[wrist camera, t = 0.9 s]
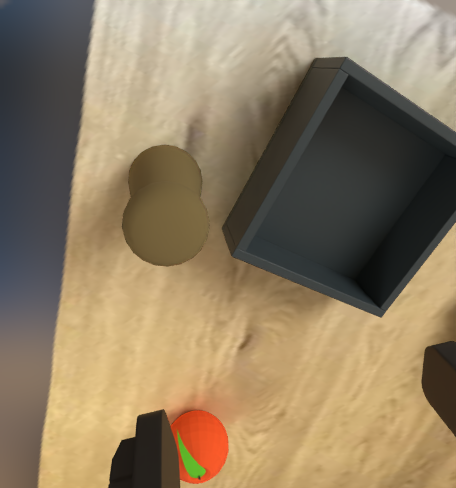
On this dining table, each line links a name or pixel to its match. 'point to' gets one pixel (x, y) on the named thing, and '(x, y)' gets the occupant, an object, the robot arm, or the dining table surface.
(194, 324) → the dining table surface
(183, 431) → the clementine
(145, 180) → the cork
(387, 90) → the bin
